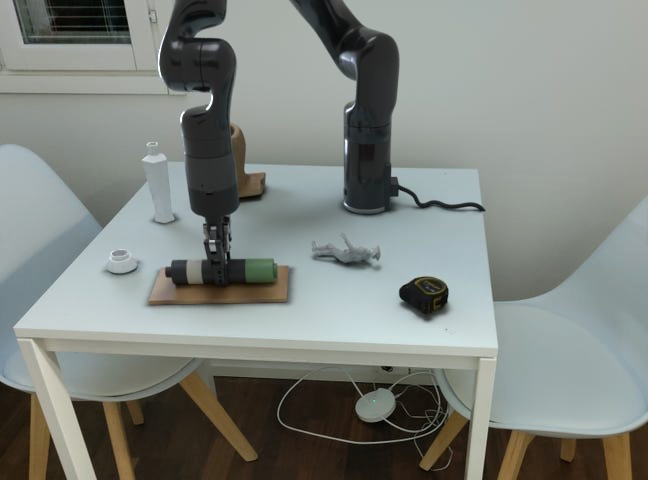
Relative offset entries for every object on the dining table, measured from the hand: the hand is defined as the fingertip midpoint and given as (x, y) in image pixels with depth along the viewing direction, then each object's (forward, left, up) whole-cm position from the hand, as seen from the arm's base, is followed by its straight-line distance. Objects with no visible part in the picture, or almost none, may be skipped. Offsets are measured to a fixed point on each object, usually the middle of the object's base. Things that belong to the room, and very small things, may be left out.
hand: (223, 278), depth 116 cm
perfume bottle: (+14, -27, -2) cm, 31 cm away
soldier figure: (-21, -8, -2) cm, 22 cm away
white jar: (+18, -7, -2) cm, 20 cm away
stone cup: (+2, -38, -2) cm, 38 cm away
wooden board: (0, 0, -2) cm, 2 cm away
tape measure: (-33, +8, -2) cm, 34 cm away
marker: (0, 0, -1) cm, 1 cm away
